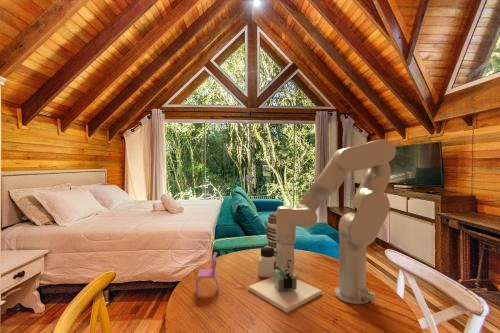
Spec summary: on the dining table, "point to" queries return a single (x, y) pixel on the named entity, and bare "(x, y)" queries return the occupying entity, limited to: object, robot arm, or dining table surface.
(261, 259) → the medicine bottle
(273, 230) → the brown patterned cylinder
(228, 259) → the dining table surface
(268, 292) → the post block
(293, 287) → the sage green cube
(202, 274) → the toy chair
